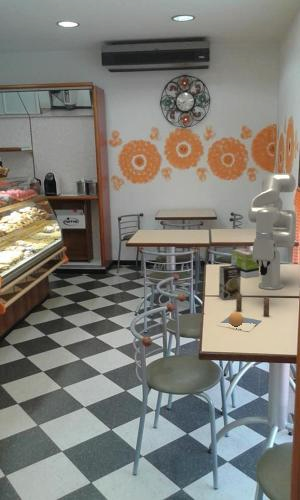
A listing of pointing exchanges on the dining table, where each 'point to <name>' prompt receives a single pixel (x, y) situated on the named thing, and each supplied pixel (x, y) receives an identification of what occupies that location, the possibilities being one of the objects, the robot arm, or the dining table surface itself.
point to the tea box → (245, 262)
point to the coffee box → (229, 281)
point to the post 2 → (266, 307)
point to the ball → (236, 319)
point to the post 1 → (238, 302)
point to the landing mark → (244, 321)
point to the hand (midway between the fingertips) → (263, 274)
